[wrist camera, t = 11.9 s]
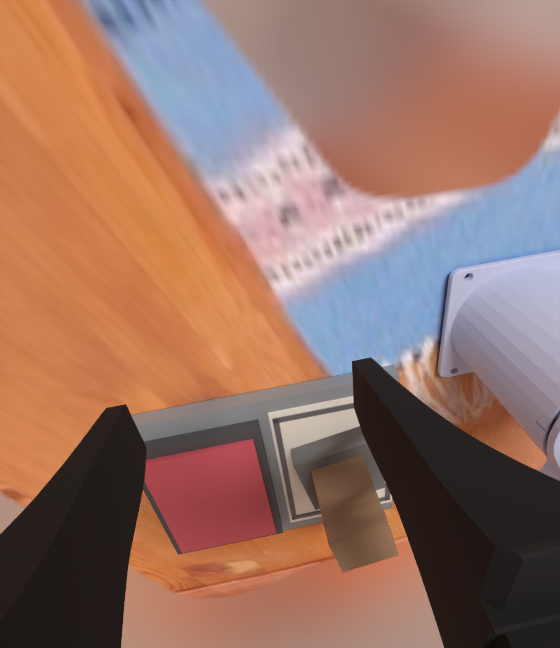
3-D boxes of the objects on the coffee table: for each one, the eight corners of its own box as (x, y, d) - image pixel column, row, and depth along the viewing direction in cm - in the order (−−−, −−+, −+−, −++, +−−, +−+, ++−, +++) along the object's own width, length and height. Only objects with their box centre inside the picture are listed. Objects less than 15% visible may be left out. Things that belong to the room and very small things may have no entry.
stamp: (365, 424, 27) (403, 512, 22) (379, 469, 30) (415, 557, 25) (290, 449, 27) (308, 542, 22) (311, 491, 30) (331, 583, 25)
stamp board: (393, 364, 26) (407, 388, 24) (387, 497, 34) (398, 522, 32) (120, 417, 25) (112, 445, 23) (182, 539, 33) (180, 568, 31)
